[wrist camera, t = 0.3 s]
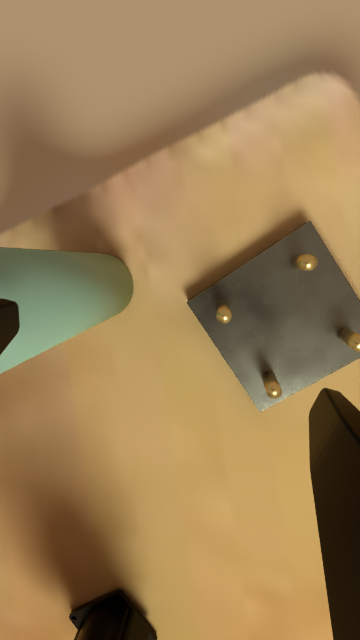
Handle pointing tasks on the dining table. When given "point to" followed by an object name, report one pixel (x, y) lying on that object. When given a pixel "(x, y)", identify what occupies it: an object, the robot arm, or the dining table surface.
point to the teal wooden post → (59, 296)
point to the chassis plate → (283, 317)
